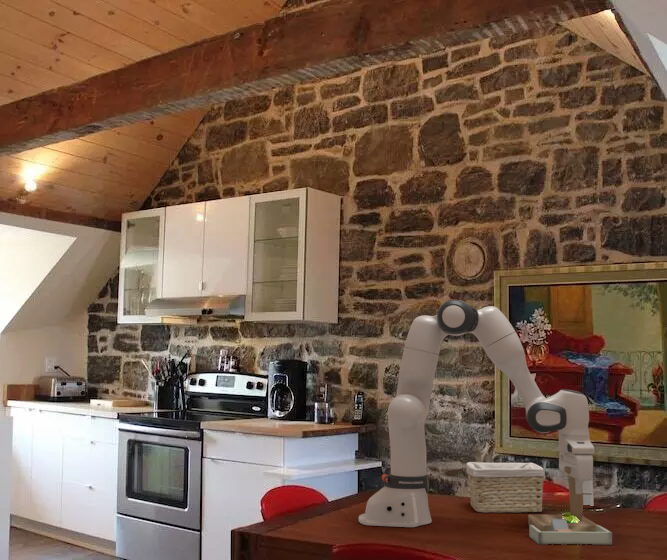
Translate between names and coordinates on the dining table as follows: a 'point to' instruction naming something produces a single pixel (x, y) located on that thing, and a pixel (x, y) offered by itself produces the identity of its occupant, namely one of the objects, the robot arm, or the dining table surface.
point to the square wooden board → (545, 520)
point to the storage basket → (505, 487)
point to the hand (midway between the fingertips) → (575, 492)
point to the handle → (574, 498)
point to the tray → (572, 537)
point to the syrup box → (588, 493)
